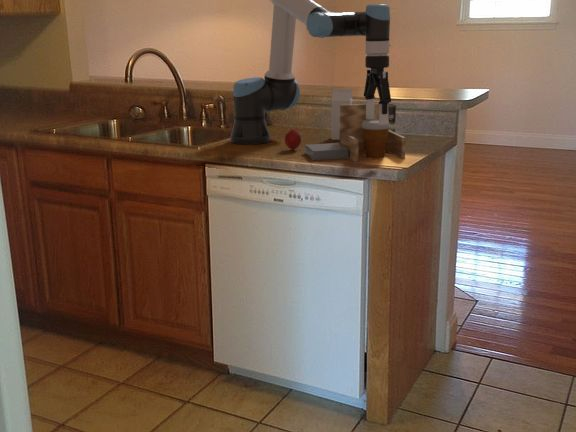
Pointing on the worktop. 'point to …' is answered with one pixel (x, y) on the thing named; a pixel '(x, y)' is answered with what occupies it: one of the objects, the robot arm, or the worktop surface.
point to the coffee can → (392, 117)
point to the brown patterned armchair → (354, 132)
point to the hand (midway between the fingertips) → (376, 121)
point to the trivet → (326, 151)
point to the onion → (292, 139)
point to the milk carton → (339, 99)
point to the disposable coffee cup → (375, 138)
